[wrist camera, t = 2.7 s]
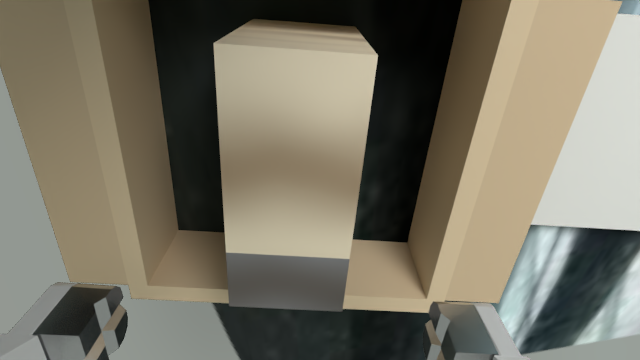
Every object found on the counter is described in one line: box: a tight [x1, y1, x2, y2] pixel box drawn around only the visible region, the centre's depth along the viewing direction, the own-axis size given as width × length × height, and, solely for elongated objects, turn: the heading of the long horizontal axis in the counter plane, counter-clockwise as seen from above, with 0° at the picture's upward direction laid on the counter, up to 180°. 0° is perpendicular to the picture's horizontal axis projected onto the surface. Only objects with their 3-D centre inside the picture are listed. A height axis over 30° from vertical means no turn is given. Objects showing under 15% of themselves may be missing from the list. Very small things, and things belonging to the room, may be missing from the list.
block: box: [213, 19, 378, 312], centre depth 17 cm, size 11×5×8 cm, turn 176°
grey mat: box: [531, 14, 640, 231], centre depth 21 cm, size 12×10×1 cm
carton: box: [0, 0, 622, 313], centre depth 19 cm, size 17×23×5 cm
